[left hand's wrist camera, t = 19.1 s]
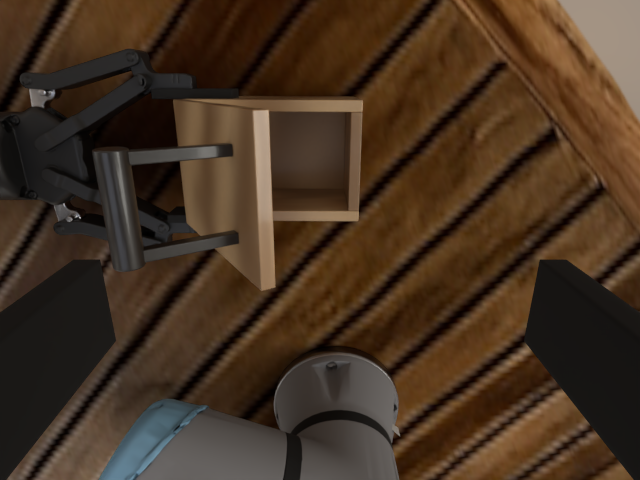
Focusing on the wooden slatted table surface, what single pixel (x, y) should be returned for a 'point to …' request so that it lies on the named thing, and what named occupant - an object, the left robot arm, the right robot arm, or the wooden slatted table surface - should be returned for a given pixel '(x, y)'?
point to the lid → (200, 190)
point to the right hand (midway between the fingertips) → (239, 157)
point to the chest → (312, 154)
